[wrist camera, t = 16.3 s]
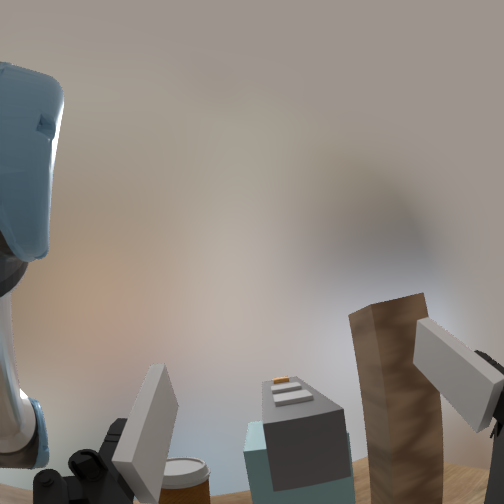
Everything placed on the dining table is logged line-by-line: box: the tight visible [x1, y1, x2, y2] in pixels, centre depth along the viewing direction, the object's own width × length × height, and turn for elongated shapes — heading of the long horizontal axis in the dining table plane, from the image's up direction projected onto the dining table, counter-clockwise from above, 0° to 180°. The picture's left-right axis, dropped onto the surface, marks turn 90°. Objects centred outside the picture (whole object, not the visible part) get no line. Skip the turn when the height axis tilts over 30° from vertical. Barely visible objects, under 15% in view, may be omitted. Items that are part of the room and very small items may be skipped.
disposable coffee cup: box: [158, 457, 210, 504], centre depth 34 cm, size 10×10×12 cm
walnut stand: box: [349, 293, 443, 504], centre depth 27 cm, size 6×8×30 cm
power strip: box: [262, 376, 351, 492], centre depth 23 cm, size 4×22×4 cm, turn 178°
